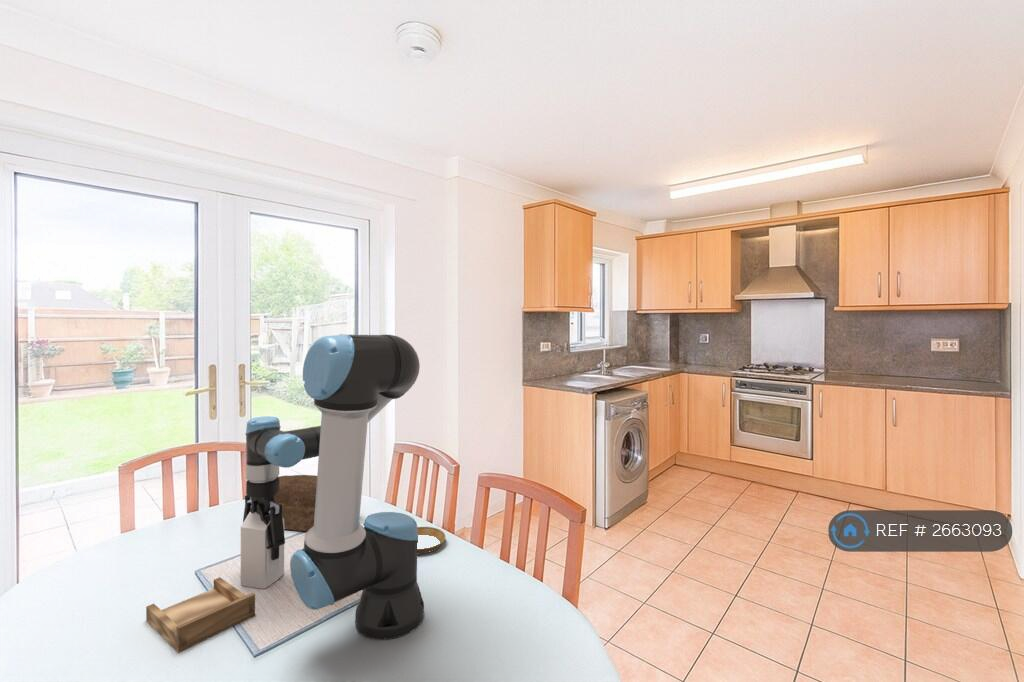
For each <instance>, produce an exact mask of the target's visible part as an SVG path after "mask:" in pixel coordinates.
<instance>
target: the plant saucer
mask: <svg viewBox="0 0 1024 682" xmlns="http://www.w3.org/2000/svg"><path fill="white" fill-rule="evenodd" d="M417 532H418V535H429V536H434V537H436V538H437V539H438V540H439V541H440V544H438V545H436V546H433V547H430V548H424V549H417V553H423V554H426V553H425V552H428V553H430V552H429V551H431V552H433V551H435V550H436V549H438V548H439V547H440V546H441V545H442V544H443V542H444V541H445V539H446V533H445V532H444V531H443V530H441V529H439V528H437V527H432V526H417ZM434 549H435V550H434ZM432 550H433V551H432Z"/></svg>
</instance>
